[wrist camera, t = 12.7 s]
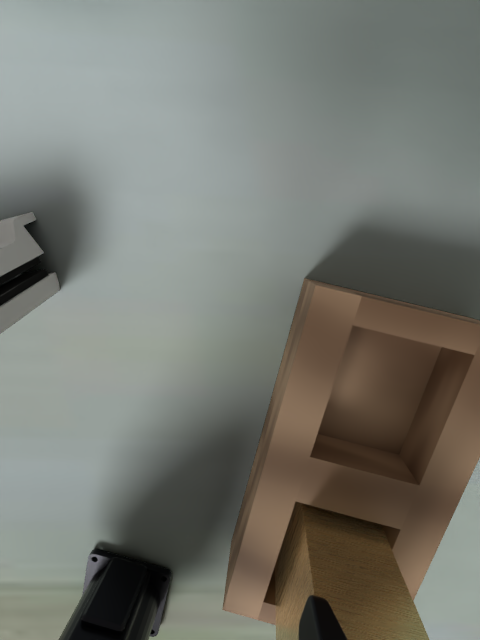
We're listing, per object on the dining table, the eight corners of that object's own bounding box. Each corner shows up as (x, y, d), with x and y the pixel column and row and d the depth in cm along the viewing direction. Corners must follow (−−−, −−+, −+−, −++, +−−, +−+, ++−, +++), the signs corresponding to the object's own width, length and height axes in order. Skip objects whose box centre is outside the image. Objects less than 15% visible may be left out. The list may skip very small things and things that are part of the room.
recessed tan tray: (364, 578, 23) (387, 656, 18) (231, 542, 23) (222, 609, 19) (470, 317, 18) (534, 337, 14) (304, 278, 19) (315, 285, 14)
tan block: (341, 574, 20) (397, 816, 12) (274, 556, 21) (279, 781, 12) (370, 499, 19) (458, 708, 10) (298, 480, 19) (324, 670, 10)
